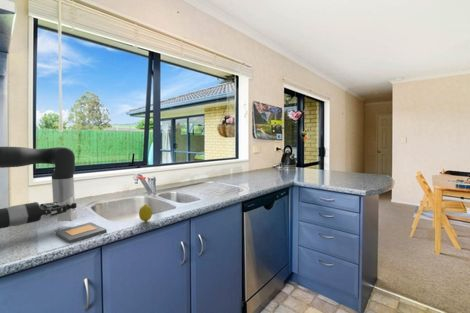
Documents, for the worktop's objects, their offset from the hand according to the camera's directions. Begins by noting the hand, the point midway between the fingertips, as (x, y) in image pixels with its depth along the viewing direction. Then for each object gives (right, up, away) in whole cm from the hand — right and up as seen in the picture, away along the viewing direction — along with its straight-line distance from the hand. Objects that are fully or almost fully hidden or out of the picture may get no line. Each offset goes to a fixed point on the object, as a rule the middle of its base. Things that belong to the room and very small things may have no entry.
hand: (73, 204), depth 106 cm
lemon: (+30, -9, +4) cm, 32 cm away
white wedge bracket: (-2, -6, -2) cm, 7 cm away
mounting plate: (+10, -10, -10) cm, 17 cm away
